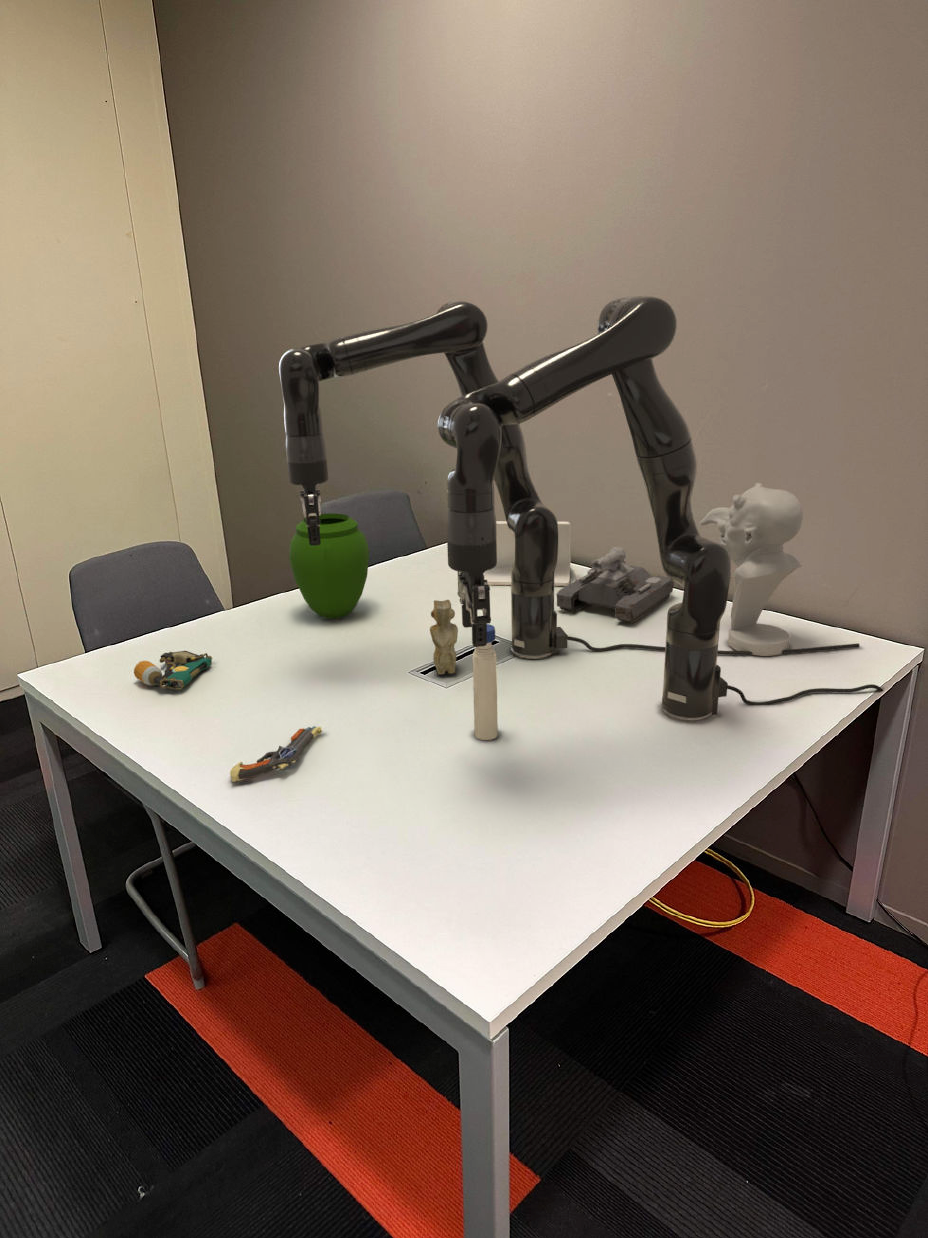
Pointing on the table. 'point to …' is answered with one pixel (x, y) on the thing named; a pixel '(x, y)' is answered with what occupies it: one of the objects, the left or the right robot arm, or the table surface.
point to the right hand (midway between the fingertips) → (474, 635)
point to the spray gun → (172, 669)
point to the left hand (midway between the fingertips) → (314, 539)
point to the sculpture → (444, 637)
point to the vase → (330, 565)
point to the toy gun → (277, 756)
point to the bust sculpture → (758, 561)
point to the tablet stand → (507, 556)
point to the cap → (490, 633)
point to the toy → (616, 588)
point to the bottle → (485, 692)
